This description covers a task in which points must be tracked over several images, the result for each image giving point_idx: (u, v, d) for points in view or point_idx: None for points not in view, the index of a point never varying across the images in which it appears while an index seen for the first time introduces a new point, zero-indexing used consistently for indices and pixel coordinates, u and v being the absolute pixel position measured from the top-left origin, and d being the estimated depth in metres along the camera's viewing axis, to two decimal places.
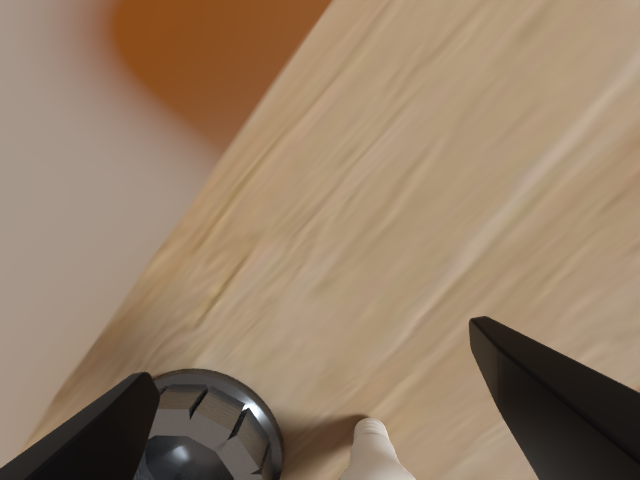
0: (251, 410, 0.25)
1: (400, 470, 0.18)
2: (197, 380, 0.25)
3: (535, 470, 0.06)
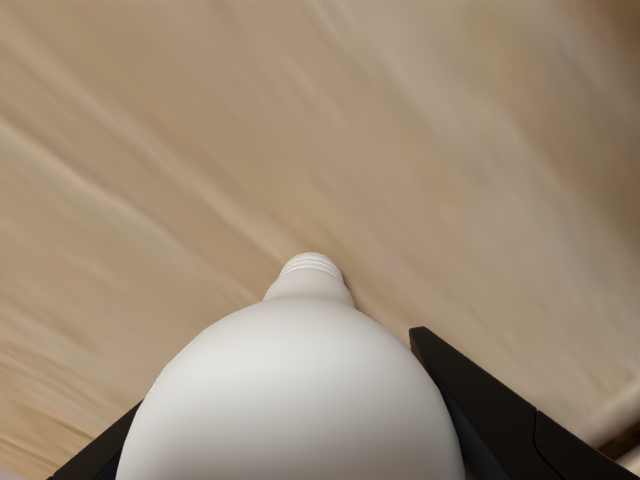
0: None
1: None
2: None
3: None
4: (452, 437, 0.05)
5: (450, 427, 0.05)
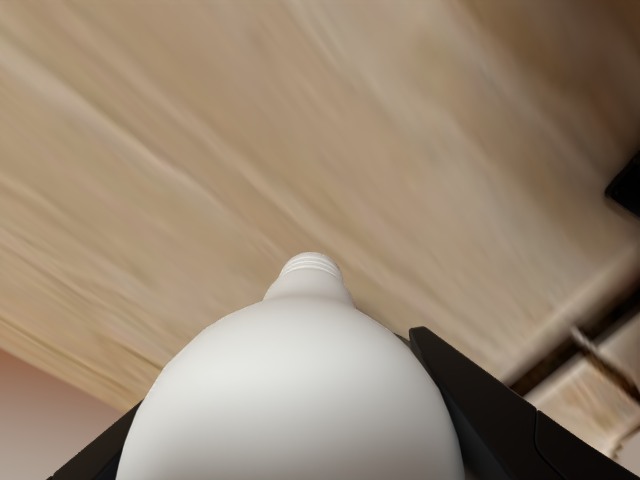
0: None
1: None
2: None
3: None
4: (452, 436, 0.05)
5: (450, 426, 0.05)
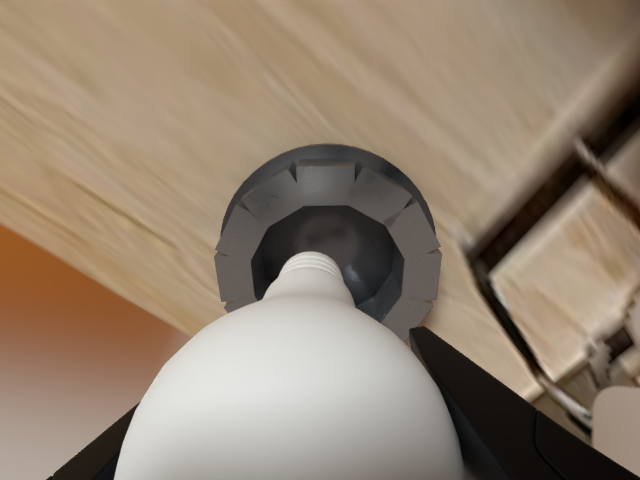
0: (257, 184, 0.19)
1: None
2: None
3: None
4: (452, 436, 0.05)
5: (450, 426, 0.05)
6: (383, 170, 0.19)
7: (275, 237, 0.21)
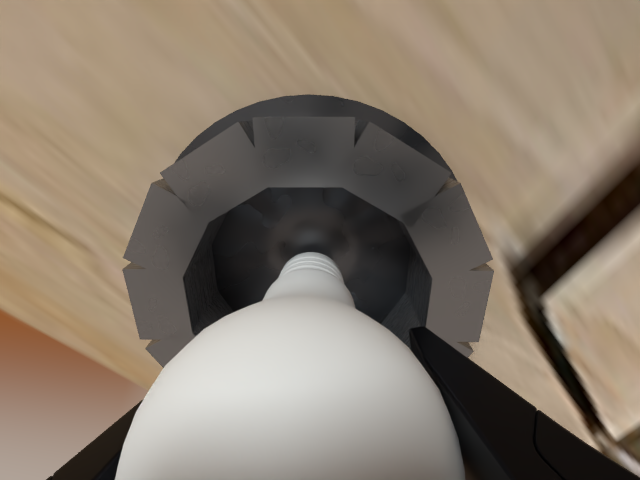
0: None
1: None
2: None
3: None
4: (452, 437, 0.05)
5: (450, 427, 0.05)
6: (398, 138, 0.12)
7: (233, 239, 0.14)
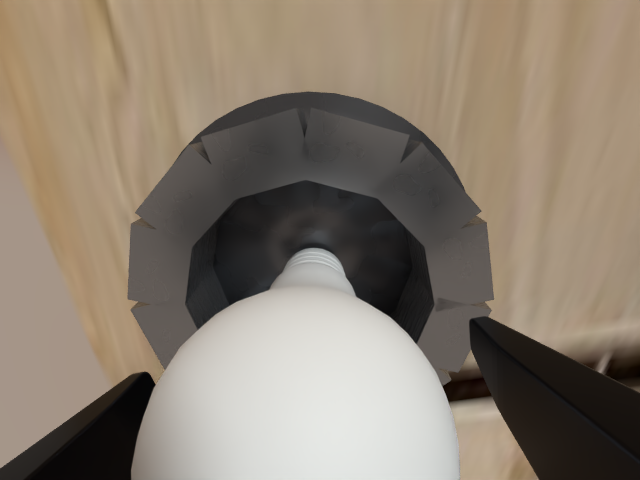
0: (322, 111, 0.12)
1: None
2: None
3: (535, 470, 0.06)
4: (447, 412, 0.05)
5: (445, 404, 0.06)
6: None
7: (277, 193, 0.13)
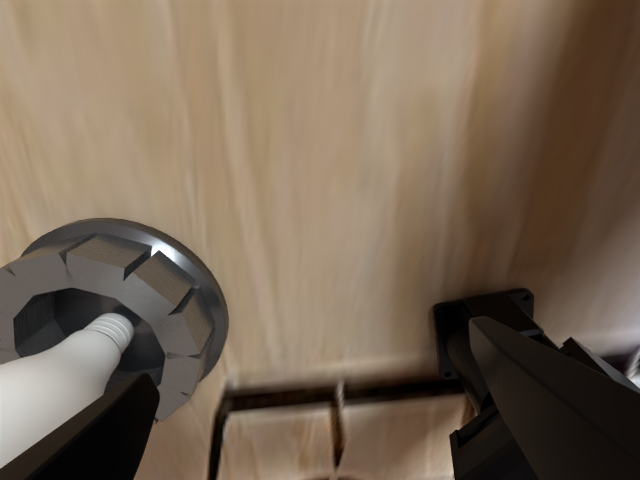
0: (108, 233, 0.19)
1: None
2: (36, 249, 0.20)
3: (535, 470, 0.06)
4: (56, 424, 0.13)
5: (60, 420, 0.13)
6: (211, 306, 0.21)
7: None
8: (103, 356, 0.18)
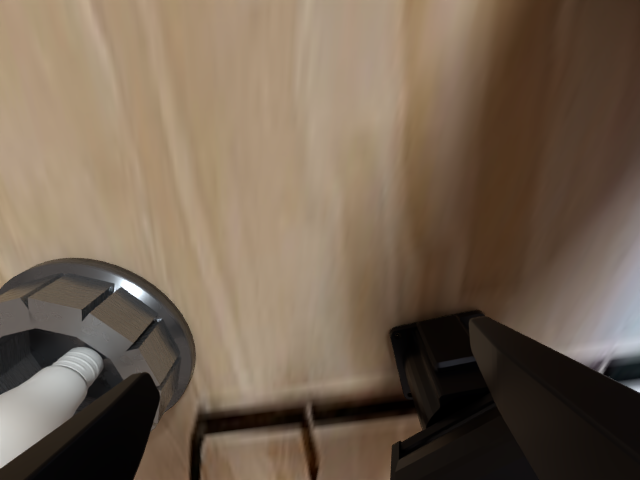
0: (72, 273, 0.21)
1: None
2: (8, 289, 0.21)
3: (535, 470, 0.06)
4: None
5: None
6: (175, 337, 0.22)
7: None
8: (67, 392, 0.19)
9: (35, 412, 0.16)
